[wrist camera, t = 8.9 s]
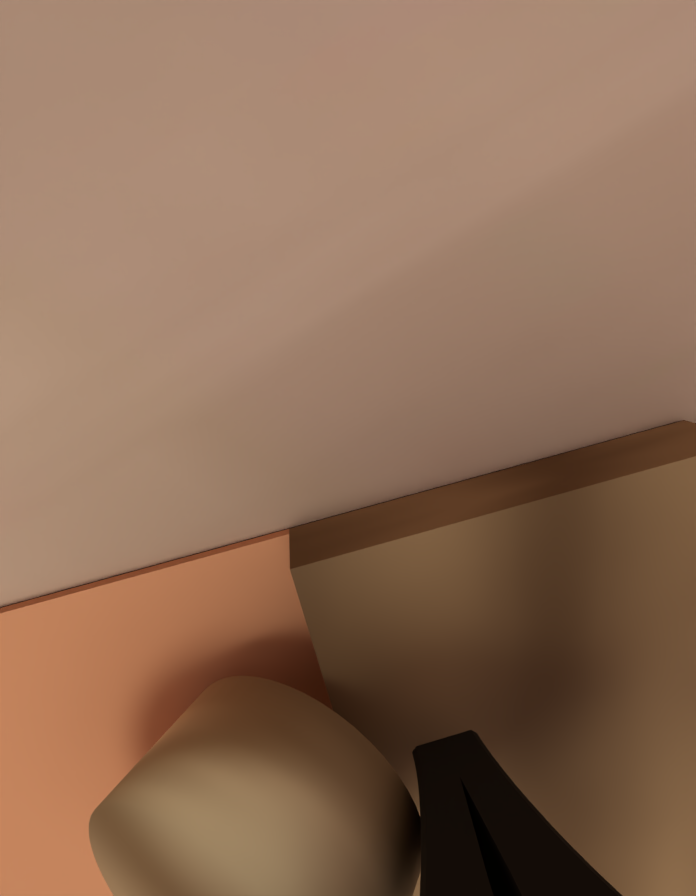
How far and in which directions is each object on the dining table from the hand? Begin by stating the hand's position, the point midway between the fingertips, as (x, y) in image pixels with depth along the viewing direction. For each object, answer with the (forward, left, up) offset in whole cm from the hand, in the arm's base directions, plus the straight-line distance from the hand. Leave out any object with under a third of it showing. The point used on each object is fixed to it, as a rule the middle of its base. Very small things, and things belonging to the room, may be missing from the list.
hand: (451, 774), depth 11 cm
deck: (-1, +5, -3) cm, 6 cm away
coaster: (+4, -1, 0) cm, 4 cm away
